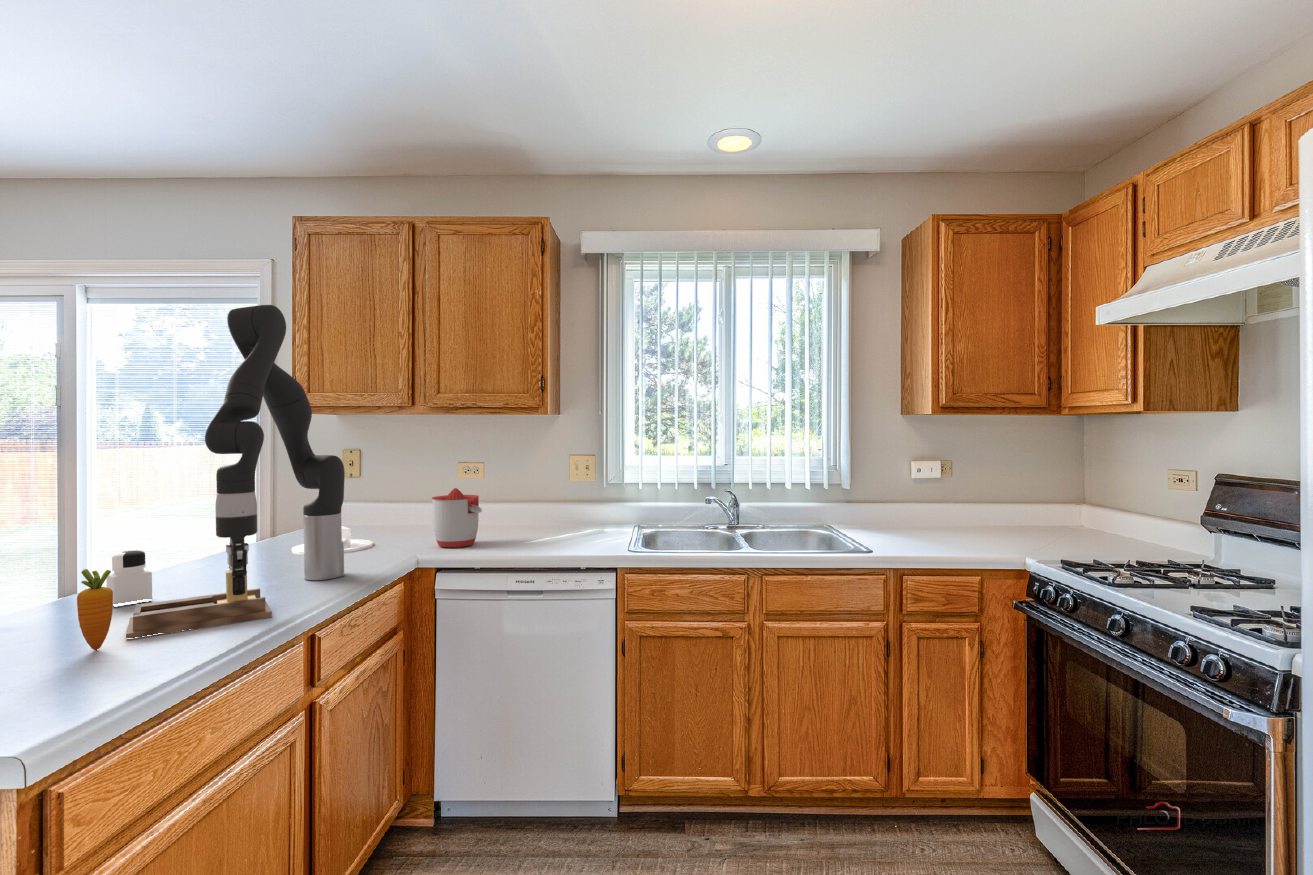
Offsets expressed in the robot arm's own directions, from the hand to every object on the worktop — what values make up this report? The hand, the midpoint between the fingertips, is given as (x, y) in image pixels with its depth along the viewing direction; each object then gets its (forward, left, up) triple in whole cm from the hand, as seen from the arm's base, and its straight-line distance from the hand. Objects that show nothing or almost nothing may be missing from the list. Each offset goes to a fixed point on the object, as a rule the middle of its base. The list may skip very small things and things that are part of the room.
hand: (238, 592), depth 139 cm
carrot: (+23, +11, -5) cm, 26 cm away
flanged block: (0, 0, -3) cm, 3 cm away
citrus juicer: (-67, -53, -5) cm, 86 cm away
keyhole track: (+7, 0, -5) cm, 8 cm away
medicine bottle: (+20, -29, -5) cm, 35 cm away
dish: (-32, -77, -5) cm, 84 cm away
